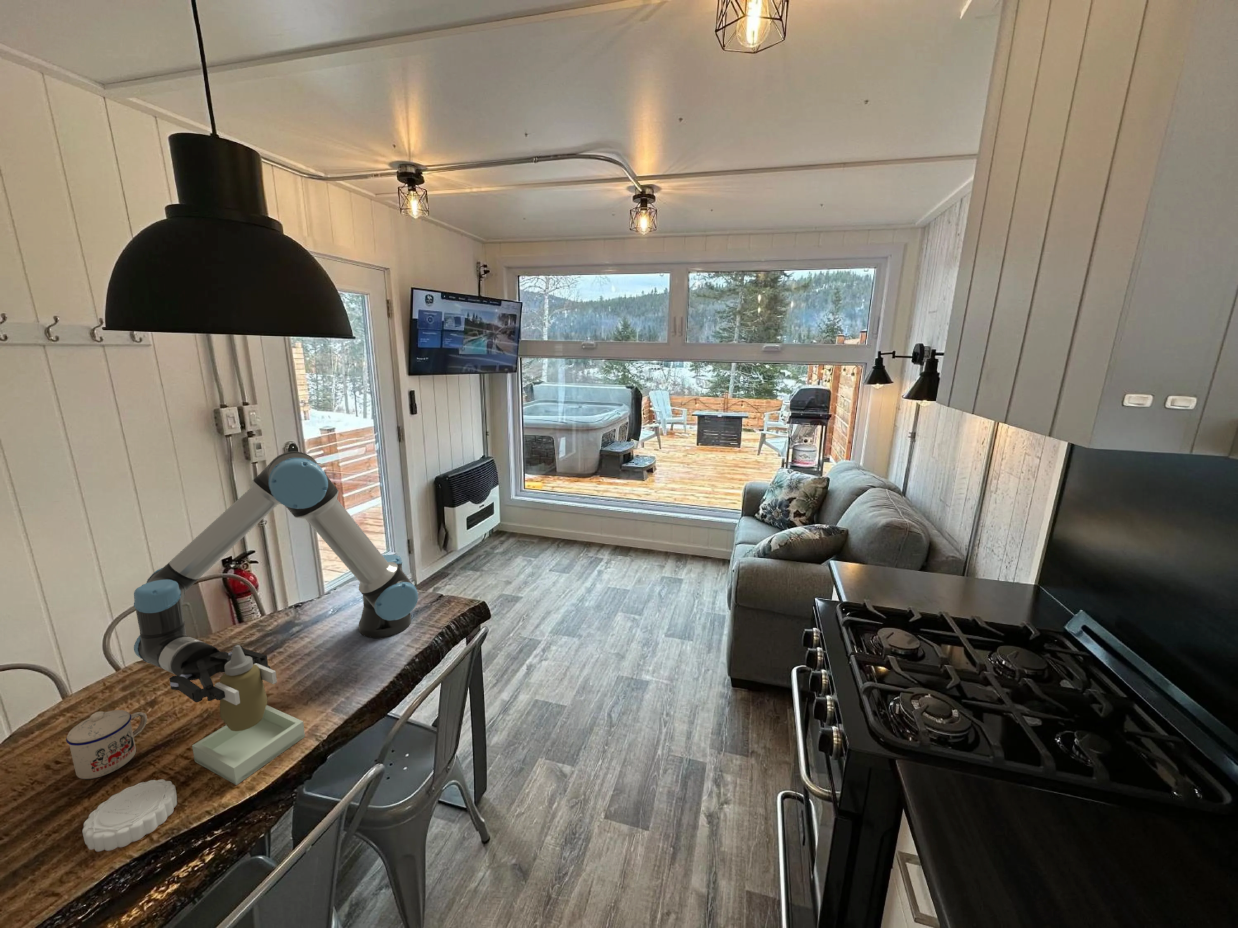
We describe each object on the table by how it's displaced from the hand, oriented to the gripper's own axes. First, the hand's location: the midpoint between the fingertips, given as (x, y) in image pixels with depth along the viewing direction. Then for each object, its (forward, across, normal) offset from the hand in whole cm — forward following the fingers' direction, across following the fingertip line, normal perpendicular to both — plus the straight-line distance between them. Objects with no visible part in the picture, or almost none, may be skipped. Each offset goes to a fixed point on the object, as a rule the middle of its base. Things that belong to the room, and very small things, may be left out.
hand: (256, 687), depth 99 cm
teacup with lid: (-28, +13, -17) cm, 35 cm away
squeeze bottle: (-5, 0, -10) cm, 11 cm away
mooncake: (-7, +19, -18) cm, 27 cm away
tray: (-5, 0, -17) cm, 17 cm away
